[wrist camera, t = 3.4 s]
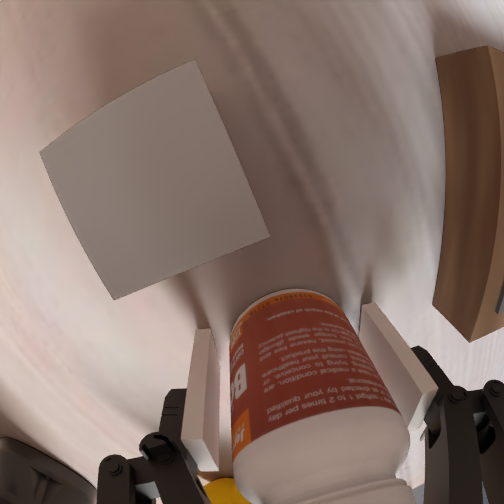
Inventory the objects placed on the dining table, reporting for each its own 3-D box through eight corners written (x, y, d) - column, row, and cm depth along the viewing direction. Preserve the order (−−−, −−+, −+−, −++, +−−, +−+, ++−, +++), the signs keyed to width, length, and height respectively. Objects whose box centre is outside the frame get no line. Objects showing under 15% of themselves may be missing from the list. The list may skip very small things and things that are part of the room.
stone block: (151, 244, 13) (114, 300, 8) (104, 144, 11) (39, 152, 6) (255, 199, 12) (270, 236, 8) (209, 91, 11) (195, 59, 6)
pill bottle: (213, 302, 14) (200, 550, 4) (338, 269, 14) (474, 473, 3) (246, 386, 16) (263, 566, 6) (347, 359, 16) (419, 524, 6)
